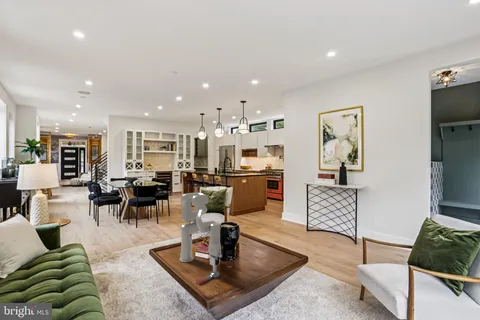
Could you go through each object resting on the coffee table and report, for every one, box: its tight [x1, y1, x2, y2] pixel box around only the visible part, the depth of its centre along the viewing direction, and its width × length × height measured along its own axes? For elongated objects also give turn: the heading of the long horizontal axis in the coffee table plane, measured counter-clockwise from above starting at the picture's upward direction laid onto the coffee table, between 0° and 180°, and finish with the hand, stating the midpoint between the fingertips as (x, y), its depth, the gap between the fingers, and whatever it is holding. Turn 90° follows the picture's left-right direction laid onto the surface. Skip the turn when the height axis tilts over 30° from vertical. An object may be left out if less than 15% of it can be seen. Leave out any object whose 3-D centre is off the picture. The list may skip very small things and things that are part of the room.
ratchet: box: [195, 265, 220, 286], centre depth 186 cm, size 7×20×8 cm, turn 137°
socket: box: [209, 255, 221, 267], centre depth 190 cm, size 5×5×6 cm
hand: (214, 263), depth 190 cm, fingers closed on socket, 5 cm apart
